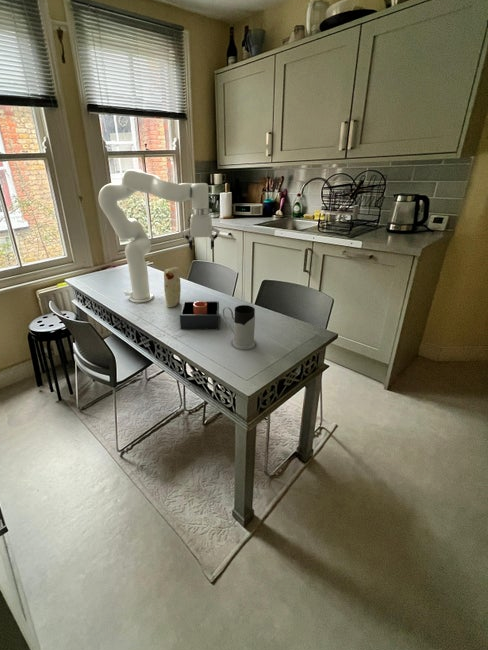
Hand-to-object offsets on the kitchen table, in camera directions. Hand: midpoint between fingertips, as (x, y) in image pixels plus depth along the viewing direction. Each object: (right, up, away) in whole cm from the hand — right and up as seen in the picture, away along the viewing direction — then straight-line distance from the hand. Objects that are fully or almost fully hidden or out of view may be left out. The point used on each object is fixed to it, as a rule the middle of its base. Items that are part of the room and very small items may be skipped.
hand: (201, 248), depth 151 cm
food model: (-14, -27, +11) cm, 32 cm away
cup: (-1, -34, -8) cm, 35 cm away
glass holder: (+13, -42, -24) cm, 50 cm away
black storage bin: (-1, -34, -7) cm, 35 cm away
